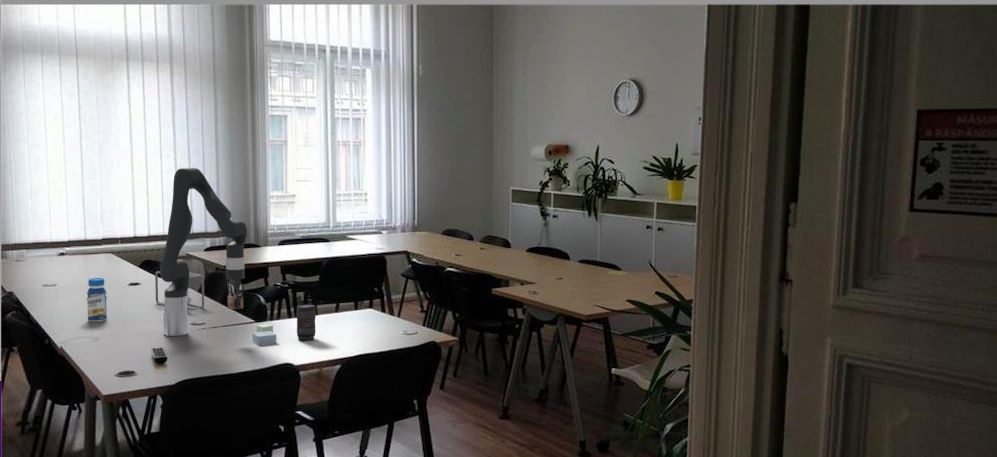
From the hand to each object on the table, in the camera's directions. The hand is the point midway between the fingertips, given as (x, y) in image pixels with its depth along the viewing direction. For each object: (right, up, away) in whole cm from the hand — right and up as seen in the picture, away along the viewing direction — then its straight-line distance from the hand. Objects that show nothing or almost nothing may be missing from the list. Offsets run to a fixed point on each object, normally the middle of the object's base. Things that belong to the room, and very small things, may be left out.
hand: (235, 306), depth 341 cm
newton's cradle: (-54, -7, +76) cm, 93 cm away
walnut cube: (0, 0, 0) cm, 0 cm away
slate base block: (+12, -16, +1) cm, 20 cm away
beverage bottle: (-78, -10, +38) cm, 88 cm away
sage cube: (+9, -15, +11) cm, 21 cm away
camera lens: (+29, -15, +7) cm, 33 cm away
